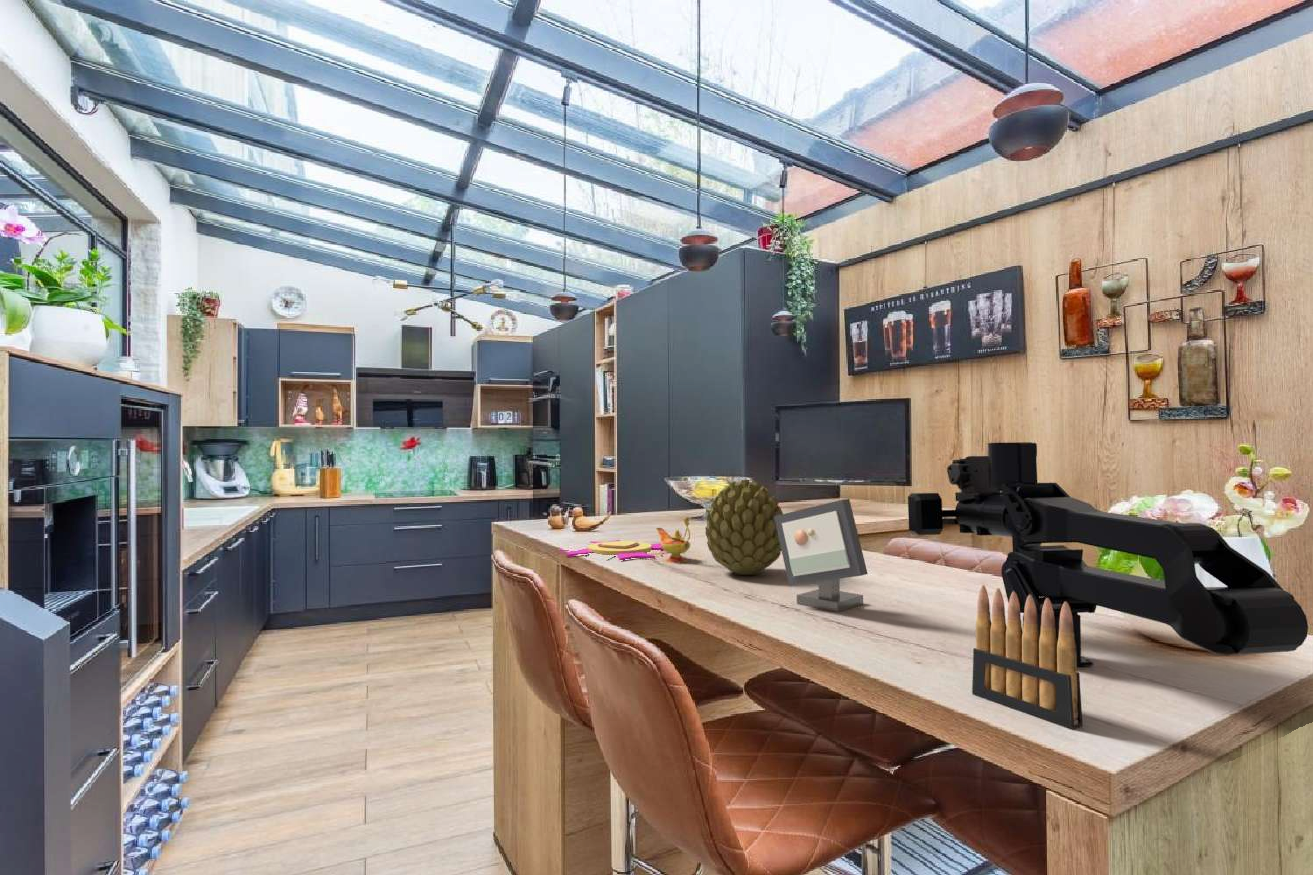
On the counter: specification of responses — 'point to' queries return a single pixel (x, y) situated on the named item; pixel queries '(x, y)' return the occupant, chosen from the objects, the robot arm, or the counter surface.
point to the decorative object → (744, 528)
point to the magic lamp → (674, 543)
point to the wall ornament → (620, 549)
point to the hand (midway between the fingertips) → (938, 509)
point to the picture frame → (820, 543)
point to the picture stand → (830, 597)
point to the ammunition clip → (1027, 660)
